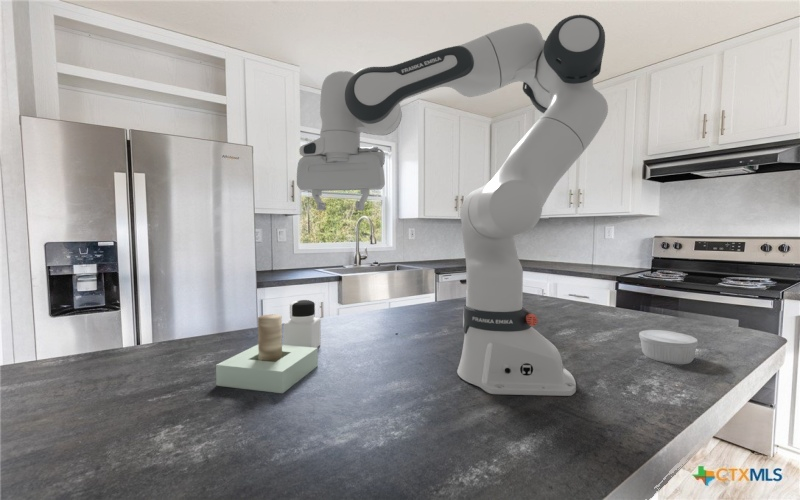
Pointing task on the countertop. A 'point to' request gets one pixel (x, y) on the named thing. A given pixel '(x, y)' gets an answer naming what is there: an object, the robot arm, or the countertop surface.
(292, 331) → the medicine bottle
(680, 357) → the ramekin
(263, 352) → the maple peg
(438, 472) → the countertop surface
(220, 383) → the socket block
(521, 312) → the robot arm
